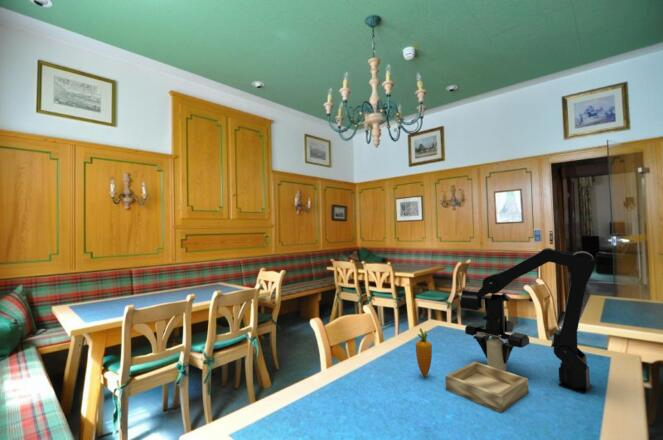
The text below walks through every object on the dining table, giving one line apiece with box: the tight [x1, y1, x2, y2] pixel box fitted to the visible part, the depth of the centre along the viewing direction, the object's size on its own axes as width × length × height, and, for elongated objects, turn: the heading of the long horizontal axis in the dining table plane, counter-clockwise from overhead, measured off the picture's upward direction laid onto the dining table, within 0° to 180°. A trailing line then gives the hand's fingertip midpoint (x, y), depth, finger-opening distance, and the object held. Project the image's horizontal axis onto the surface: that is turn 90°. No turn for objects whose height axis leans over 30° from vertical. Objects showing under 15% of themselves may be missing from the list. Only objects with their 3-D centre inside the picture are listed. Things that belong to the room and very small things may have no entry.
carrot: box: [415, 327, 433, 378], centre depth 105 cm, size 5×5×15 cm
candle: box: [486, 336, 507, 372], centre depth 109 cm, size 6×6×10 cm
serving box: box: [445, 361, 530, 414], centre depth 95 cm, size 16×16×4 cm
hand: (496, 360), depth 109 cm, fingers closed on candle, 5 cm apart
